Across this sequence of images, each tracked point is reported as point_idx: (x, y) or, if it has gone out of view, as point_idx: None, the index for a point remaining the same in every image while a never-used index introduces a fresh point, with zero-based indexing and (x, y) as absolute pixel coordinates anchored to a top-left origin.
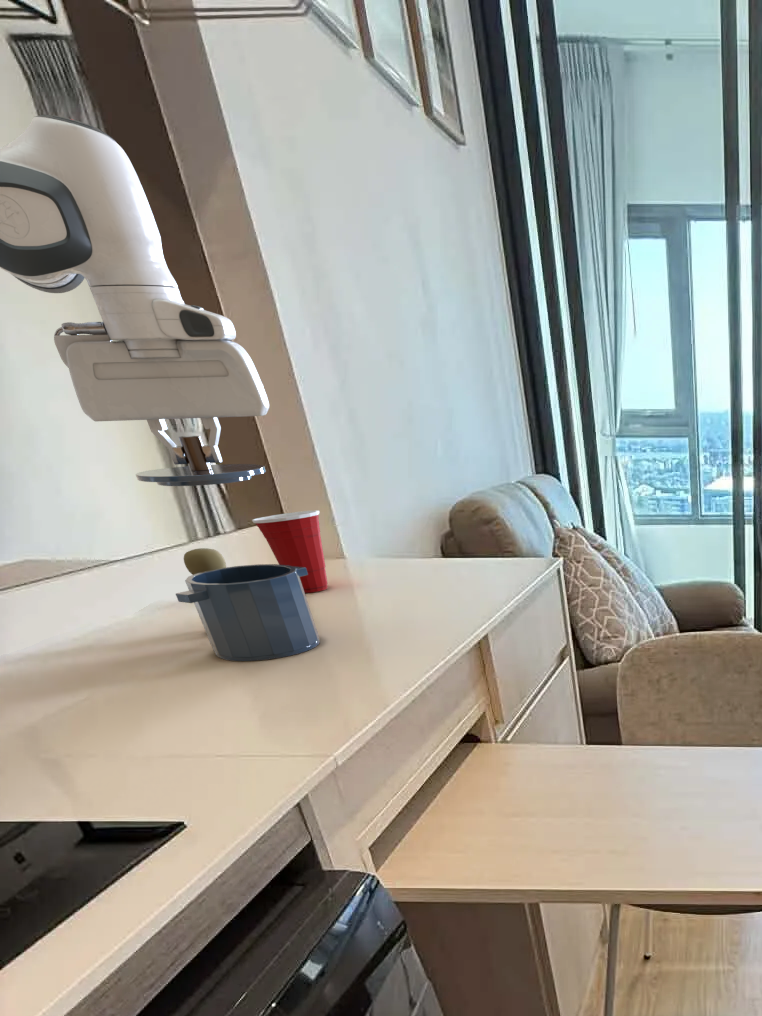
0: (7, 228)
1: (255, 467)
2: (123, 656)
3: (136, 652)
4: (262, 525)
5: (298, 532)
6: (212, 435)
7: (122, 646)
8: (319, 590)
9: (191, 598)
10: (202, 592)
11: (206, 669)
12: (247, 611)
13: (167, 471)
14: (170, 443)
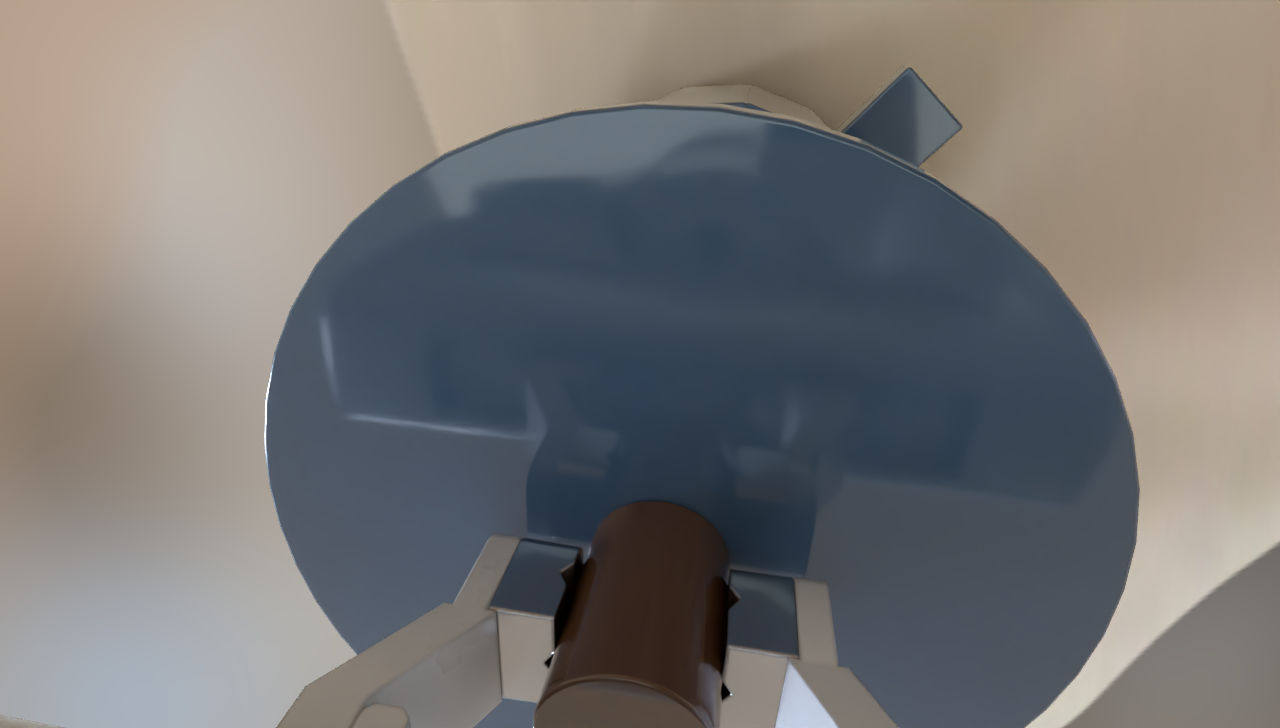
0: None
1: (316, 504)
2: (1153, 330)
3: (1111, 363)
4: None
5: None
6: (395, 657)
7: (1147, 453)
8: None
9: (897, 72)
10: (850, 123)
11: (898, 34)
12: (704, 95)
13: (893, 583)
14: (804, 694)
